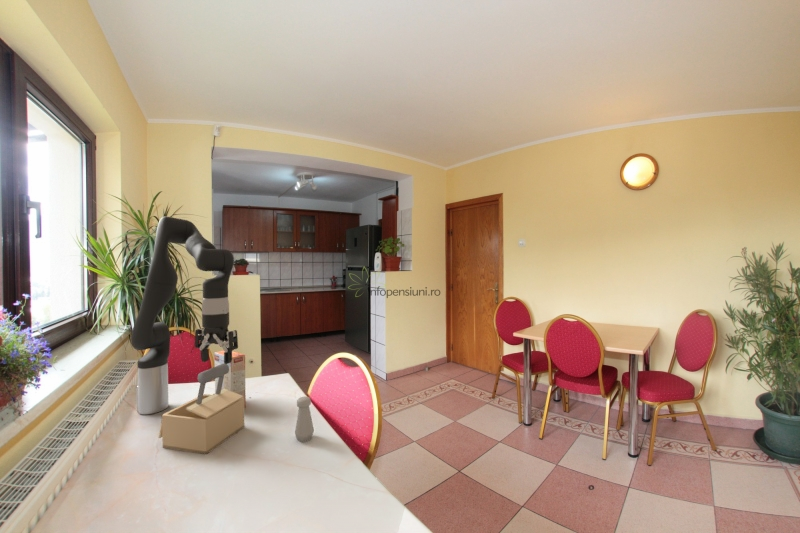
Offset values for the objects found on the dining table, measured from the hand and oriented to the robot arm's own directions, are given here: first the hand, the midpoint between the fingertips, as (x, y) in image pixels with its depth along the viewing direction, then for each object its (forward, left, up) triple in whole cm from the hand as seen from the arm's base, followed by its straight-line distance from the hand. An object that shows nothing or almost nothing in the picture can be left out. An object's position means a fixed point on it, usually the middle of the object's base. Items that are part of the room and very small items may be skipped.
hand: (216, 362), depth 103 cm
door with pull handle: (-1, 0, -13) cm, 13 cm away
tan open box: (-6, 0, -25) cm, 25 cm away
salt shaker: (+27, +6, -25) cm, 37 cm away
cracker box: (-14, +21, -25) cm, 35 cm away
